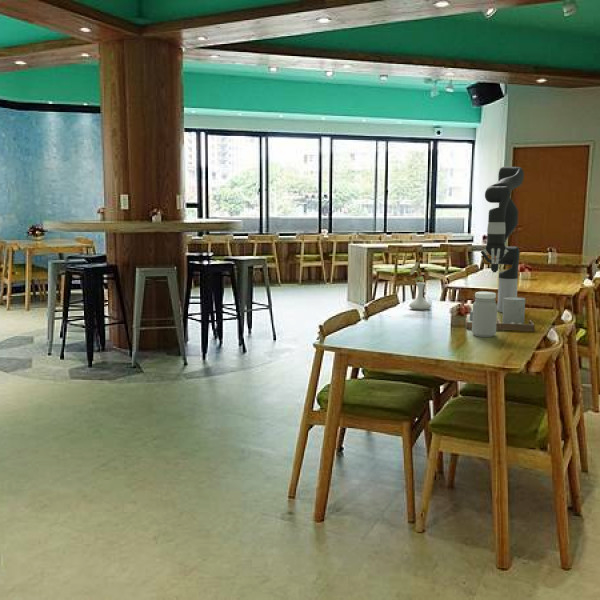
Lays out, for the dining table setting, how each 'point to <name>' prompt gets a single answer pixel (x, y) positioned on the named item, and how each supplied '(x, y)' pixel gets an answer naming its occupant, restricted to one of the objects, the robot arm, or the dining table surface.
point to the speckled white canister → (513, 310)
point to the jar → (484, 314)
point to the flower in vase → (419, 293)
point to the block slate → (471, 314)
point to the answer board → (508, 326)
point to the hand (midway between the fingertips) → (494, 272)
